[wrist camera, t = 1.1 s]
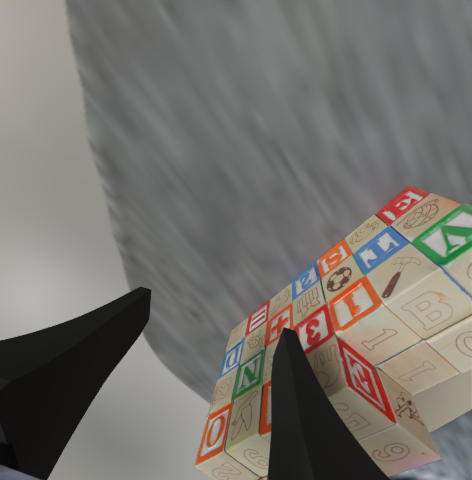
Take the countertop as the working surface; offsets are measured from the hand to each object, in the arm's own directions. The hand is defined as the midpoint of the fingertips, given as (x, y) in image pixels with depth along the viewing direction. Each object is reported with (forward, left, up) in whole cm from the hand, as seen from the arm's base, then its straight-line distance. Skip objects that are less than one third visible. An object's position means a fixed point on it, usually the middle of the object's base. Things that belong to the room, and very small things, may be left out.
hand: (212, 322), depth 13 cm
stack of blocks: (-9, 0, -11) cm, 14 cm away
